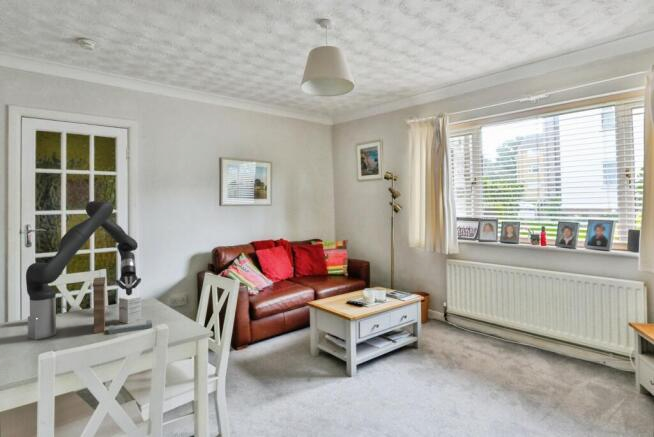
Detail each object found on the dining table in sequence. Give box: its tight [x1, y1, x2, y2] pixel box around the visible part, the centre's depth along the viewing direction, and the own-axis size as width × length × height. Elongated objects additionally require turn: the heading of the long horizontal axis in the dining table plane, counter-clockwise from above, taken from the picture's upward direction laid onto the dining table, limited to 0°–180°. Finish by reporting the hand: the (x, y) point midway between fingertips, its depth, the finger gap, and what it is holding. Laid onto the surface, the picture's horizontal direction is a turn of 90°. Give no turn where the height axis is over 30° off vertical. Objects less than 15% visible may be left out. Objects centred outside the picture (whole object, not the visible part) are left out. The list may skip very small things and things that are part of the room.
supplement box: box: [118, 294, 142, 325], centre depth 183 cm, size 7×7×13 cm
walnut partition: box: [91, 276, 106, 335], centre depth 172 cm, size 17×5×23 cm, turn 30°
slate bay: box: [108, 319, 153, 335], centre depth 172 cm, size 7×18×2 cm, turn 121°
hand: (129, 294), depth 194 cm, fingers closed
